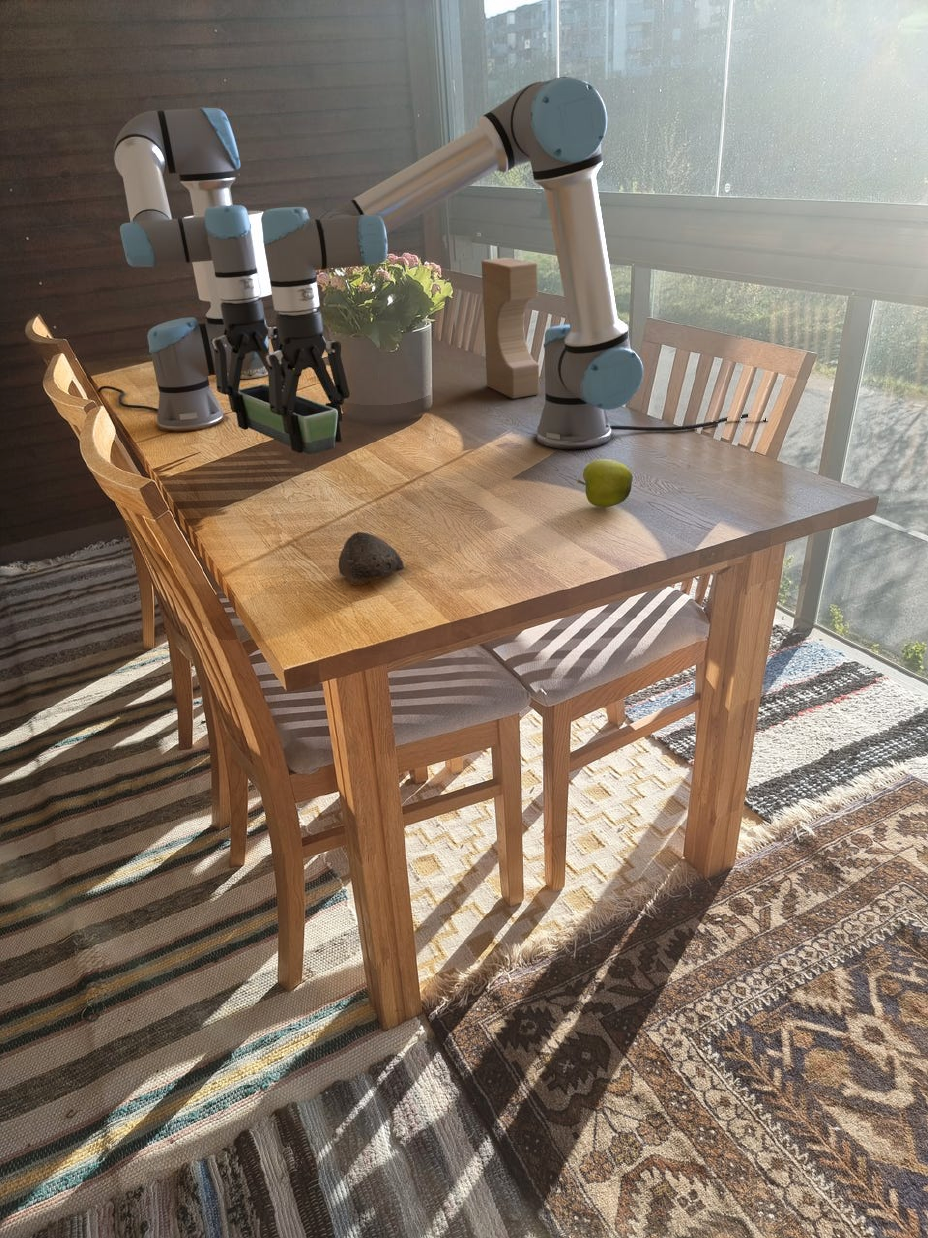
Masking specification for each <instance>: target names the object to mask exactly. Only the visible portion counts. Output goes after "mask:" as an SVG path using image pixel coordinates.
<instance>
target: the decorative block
mask: <svg viewBox="0 0 928 1238" xmlns="http://www.w3.org/2000/svg"><path fill="white" fill-rule="evenodd" d="M481 280H482V281H481V282H482V302H483V304H482V305H483V325H484V343H485V344H484V347H485V348H484V349H485V371H486V385H487V387H488V388H491V389H493V390H494V391H497V392H498V393H500V394H502V395H505V396H506V397H508V398H511V399H519V398H524V397H531V396H536V395H539V394H540V364H539V363H538V362H537V361H535V359H534V358H533V357H532V355H531V353H530V351H529V348H528V345H527V341H526V335H525V314H526V309H527V306H528V303H529V302H530V301H531V300H532V299H537V298H538V296H539V292H538V290H539V289H538V285H539V284H538V283H539V282H538V264H537V263H536V262H531V261H526V260H521V259H516V258H512V257H507V256H506V257H499V258H490V259H483V260H481Z"/></svg>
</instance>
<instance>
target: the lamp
mask: <svg viewBox="0 0 928 1238" xmlns="http://www.w3.org/2000/svg"><path fill="white" fill-rule="evenodd" d="M247 212H248V217H249V221H250V224H251V235H252V241H253V248H254V255H255V262H256V268H257V272H258V278H259V285H260V291H261V295H260V296H259V297H258V298H259V299H260V298H264V297H268V296H270V295H271V296H272V292H271V285H270V279H269V273H268V267H267V261H266V255H265V249H264V243H263V233H262V223H261V216H262V214H263V212H264V211H263V210H247ZM193 217H194V214H193V215H188V216H184V217H183V218H193ZM191 264H192V269H193V275H194V279H195V284H196V290H197V294H198V299H199V300H200V301H203V302H210V297H209V292H208V287H207V281H206V276H205V270H204V265H203V261H202V262H191ZM265 322H266V323H267V321H266V320H265ZM267 341H268V350H269V354H271V353H272V352H271V346H270V341H269V336H268V334H267ZM227 374H228V375H229V373H227ZM265 376H268V372H267V370H266V368H265V366H264V367H263V368H261V369H255V370H250V371H249V372H246V371H242V372H241V378H240V380H248V379H249V380H250V379H251V380H252V379H257V378H262V377H265Z"/></svg>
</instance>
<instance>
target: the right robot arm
mask: <svg viewBox="0 0 928 1238" xmlns="http://www.w3.org/2000/svg"><path fill="white" fill-rule="evenodd" d="M607 129H608V113H607V108H606V104H605V102H604V100H603V98H602V96H601V95H600V93H599V92H598V90H597V89H596V88H595V87H594V86H593V85H591V84H590V83H589V82H587V81H586V80H583V79H581V78H577V77H570V76H559V77H554V78H552V79H549V80H544V81H537V82H533V83H530V84H528V85H526V86H524V87H523V88H521V89H520V90H518V91H517V92H515V93H514V94H513V95H511V96H510V97H509V98H508V99H506V100H505V101H503V102H502V103H500V104H499V105H498V106H496V107H495V108H493V109H491V110H490V111H488V112H486V113H485V114H483V115H481V116H480V117H479V119H478V121H477V125H476V127H474V128H472V129H471V130H469V131H467V132H465V133H464V134H462V135H460V136H458V137H457V138H455V139H454V140H452V141H450V142H448V143H447V144H445V145H443V146H441V147H439V148H438V149H436V150H435V151H433V152H431V153H429V154H428V155H426V156H424V157H422V158H421V159H419V160H417V161H416V162H414V163H412V164H411V165H409V166H407V167H405V168H404V169H402V170H401V171H399V172H397V173H396V174H393V175H391V176H390V177H388V178H387V179H384V180H383V181H381V182H380V183H378V184H376V185H374V186H372V187H371V188H369V189H368V190H366V191H364V192H363V193H361V194H359V195H357V196H356V197H354V198H353V199H351V200H350V201H347V202H345V203H344V204H342V205H341V206H339V207H336V208H335V209H329V210H327V211H325V212H323V213H322V214H321V215H320V216H319V217H317V218H316V219H315V218H311V217H310V216H309V212H308V211H309V210H308V209H307V208H306V207H304V206H291V207H290V206H287V207H284V206H283V207H275V208H270V209H269V208H268V209H266V210H265V211H263V214H262V216H261V223H262V233H263V243H264V249H265V255H266V261H267V267H268V273H269V279H270V285H271V292H272V294H271V299H272V305H273V310H274V311H275V312H277V313H276V314H275V324H276V327H277V332H278V336H279V340H280V345H279V349H278V350H277V351H275V352H274V351H273V352H270V353H271V354H269V353H266V354H265V355H264V359H265V362H266V364H267V367H268V375H267V378H268V380H267V381H268V385H269V401H270V411H271V412H272V413H275V414H277V415H281V416H282V419H283V425H284V431H285V433H287V434H289V436H290V442H291V446H290V447H291V451H294V452H295V453H298V454H301V453H304V452H303V448H302V441H301V435H300V428H299V422H298V415H295V414H293V410H294V404H295V399H296V395H297V391H298V387H299V381H300V377H302V373H303V371H305V370H308V369H310V368H311V369H312V370H313V372H314V374H315V375H316V377H317V380H318V382H319V384H320V386H321V387H322V390H323V392H324V394H325V396H326V397H327V399H328V401H329V402H325V403H324V405H326V406H329V407H332V408H334V409H336V410H337V411H338V415H337V427H336V436H335V443H342V434H341V433H342V432H341V426H340V422H342V421H343V413H342V405H343V404H344V403H345V399H349V398H350V395H351V394H350V389H349V385H348V381H347V376H346V373H345V367H344V364H343V359H342V357H341V355H342V343H341V342H340V341H337V340H333V339H329V340H326V339H325V336H324V325H323V318H322V312H321V311H320V310H319V307H320V306H321V305H320V296H319V289H318V280H317V271H323V270H328V269H329V270H330V269H340V268H341V269H342V268H355V267H365V268H368V267H369V266H373V265H374V266H375V265H379V264H380V265H381V264H383V263H384V262H385V261H386V260H387V257H388V251H389V250H388V237H387V235H388V234H389V233H390V232H392V231H394V230H396V229H397V228H399V227H401V226H403V225H404V224H406V223H408V222H410V221H411V220H413V219H415V218H416V217H418V216H420V215H422V214H423V213H426V212H427V211H428V210H430V209H432V208H434V207H435V206H437V205H439V204H440V203H442V202H444V201H446V200H448V199H449V198H451V197H453V196H454V195H456V194H459V193H460V192H461V191H463V190H465V189H467V188H468V187H470V186H472V185H473V184H475V183H477V182H479V181H480V180H482V179H484V178H486V177H487V176H489V175H491V174H492V173H494V172H500V173H504V174H505V173H506V172H509V171H511V170H512V169H514V168H515V167H517V166H520V165H522V164H525V163H530V167H531V171H532V176H533V181H534V182H535V183H536V184H537V185H538V186H540V187H542V188H543V189H544V192H545V197H546V203H547V208H548V213H549V214H548V215H549V218H550V224H551V231H552V235H553V242H554V247H555V252H556V257H557V263H558V268H559V274H560V278H561V285H562V290H563V296H564V302H565V307H566V312H567V317H568V323H567V324H560V325H553V326H550V327H548V328H547V329H546V330H545V332H544V343H543V349H544V391H545V392H544V395H545V396H544V397H545V399H544V400H545V401H544V407H543V408H542V409H543V410H542V412H541V415H540V420H539V424H538V425H537V429H536V439H537V442H538V443H540V445H543V446H546V447H548V448H554V449H560V450H581V449H589V448H590V449H591V448H594V447H598V446H601V445H604V444H606V443H607V442H609V441H610V440H611V436H612V435H611V434H612V431H613V430H617V431H620V430H621V431H642V432H643V431H644V432H674V431H675V432H677V431H686V430H687V431H688V430H694V429H700V428H706V427H711V426H715V425H719V424H721V423H724V422H728V421H727V418H728V417H729V416H726V417H725V416H724V417H722V418H721V417H720V418H718V419H719V420H718V419H715V420H716V421H717V420H718V422H716V421H714V420H712V421H713V422H711V421H707V422H701V423H695V424H689V425H679V427H678V426H640V425H639V426H638V425H637V426H636V425H611V424H610V421H609V418H608V414H607V412H606V411H607V410H608V411H609V410H610V411H611V410H616V409H619V408H621V407H623V406H625V405H626V404H628V403H629V402H630V401H631V400H632V399H633V398H634V397H635V395H636V394H637V392H638V391H639V390H640V388H641V385H642V383H643V379H644V365H643V362H642V360H641V358H640V357H639V355H638V353H636V352H635V350H633V349H632V348H631V342H630V336H629V335H630V334H629V329H628V325H627V324H626V323H625V322H624V321H622V320H621V319H619V318H618V314H617V307H616V301H615V295H614V288H613V281H612V274H611V269H610V261H609V256H608V250H607V248H608V247H607V243H606V242H607V241H606V235H605V229H604V223H603V217H602V209H601V205H600V204H601V203H600V198H599V191H598V183H597V174H598V172H599V170H600V168H601V167H602V166H603V164H604V161H603V155H602V146H601V145H602V143H603V141H604V138H605V136H606V133H607ZM325 352H326V353H327V359H328V364H329V367H330V372H331V376H332V377H331V376H330V373H329V371H328V369H327V364H326V363H325V360H324V358H323V355H324V353H325ZM282 357H283V358H284V359H285V360H286V368H285V372H286V377H285V383H284V389H283V395H282V374H281V367H280V365H281V364H282V361H281V359H282ZM748 414H749V413H743V414H741V415H742V417H741V419H746V418H747V419H748V418H749V417H748ZM766 418H767V417H766ZM766 418H765V421H766ZM741 419H740V420H741ZM765 421H764V422H765Z"/></svg>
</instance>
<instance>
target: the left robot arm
mask: <svg viewBox="0 0 928 1238" xmlns="http://www.w3.org/2000/svg"><path fill="white" fill-rule="evenodd" d="M113 159H114V165H115V168H116V170H117V172H118V174H119V175H120V176H121V177H122V180H123V186H124V193H125V197H126V204H127V210H128V215H129V216H128V217H129V221H130V222H124V223H123V224H121V225H120V227H119V232H120V237H121V243H122V247H123V250H124V255H125V259H126V263H127V264H128V265H129V266H131V267H133V268H147V267H148V268H154V267H160V266H161V267H162V266H167V265H168V266H170V265H179V264H189V263H191V264H192V262H202V261H203V265H204V270H205V276H206V281H207V287H208V292H209V297H210V301H209V302H210V308H209V309H208V311H207V312H206V314H205V317H206V322H204V323H199V320H197V318H196V317H193V316H192V317H191V316H190V317H180V318H177V319H176V318H175V319H173V320H168V321H165V322H163V323H160V324H157V325H155V326H153V327H151V328H150V329H149V330H148V332H147V338H146V339H147V343H148V348H149V349H148V353H149V354H150V357H151V361H152V366H153V370H154V375H155V379H156V384H157V388H158V395H159V396H158V405H157V408H156V407H153V406H148V405H140V404H127V403H124V402H123V400H122V398H123V397H124V396H125V391H124V390H123V389H120V388H119V387H118V388H117V387H115V386H111V385H103V386H100V387H98V389H97V393H101V392H102V390H106V389H107V390H112V391H115V392H118V393H120V394H119V396H118V403H119V406H122V407H124V408H128V409H142V410H147V411H148V410H149V411H153V412H157V416H156V419H157V425H158V428H159V429H160V430H161V431H165V432H174V433H176V432H177V433H179V432H181V433H182V432H191V431H192V432H193V431H199V430H203V429H207V428H211V427H213V426H216V425H219V424H221V423H222V422H223V421H224V420H225V417H224V412H223V409H222V407H221V405H220V403H219V401H218V399H217V397H216V395H215V394H214V392H213V390H212V388H211V385H210V380H209V376H210V377H211V376H215V381H216V391H217V392H218V393H220V394H222V395H227V396H228V402H229V407H230V411H231V412H233V413H235V415H236V421H237V426H238V428H240V429H242V430H245V431H246V430H249V428H248V423H247V418H246V412H245V407H244V401H243V395H241V394H238V390H239V389H240V383H241V379H240V378H241V372H242V371H246V372H249V371H250V370H255V369H261V368H263V367H264V366H265V368H266V370H267V372H268V367H267V364H266V362H265V359H264V355H265V354H266V353H269V350H268V341H267V334H268V339H270V343H271V348H272V351H273V352H275V351H277V350H278V349H279V345H280V340H279V336H278V332H277V326H271V327H270V326H268V325H267V321H266V317H265V311H264V304H263V300H262V299H261V298H260V297H259V296H260V295H261V291H260V285H259V278H258V272H257V268H256V262H255V255H254V248H253V241H252V235H251V224H250V221H249V217H248V212H247V211H248V210H247V208H246V207H245V206H244V205H241V204H233V197H232V193H231V192H232V191H231V186H232V185H233V183H234V182H235V180H236V173H235V171H237V170H239V169H240V168H241V160H240V155H239V151H238V146H237V143H236V139H235V135H234V133H233V129H232V126H231V123H230V121H229V119H228V116H227V114H226V113H225V111H223V110H222V109H220V108H218V107H202V106H201V107H196V108H180V109H179V108H178V109H177V108H176V109H165V110H164V109H163V110H147V111H144V112H142V113H140V114H138V115H136V116H134V117H133V118H131V119H130V120H129V121H128V122H127V123H126V124H125V125H124V126H123V127H122V128H121V130H120V132H119V133H118V135H117V136H116V139H115V142H114V146H113ZM164 174H165V175H166V174H169V175H172V174H178V176H179V182H180V184H181V185H182V186H184V187H185V188H186V189H187V190H188V192H189V196H190V201H191V205H192V212H193V215H194V217H193V218H184V217H182V218H173V217H172V213H171V209H170V204H169V199H168V194H167V190H166V185H165V181H164V177H163V175H164ZM258 297H259V298H258ZM265 321H266V322H265ZM281 361H282V364H281V365H280V367H281V374H282V390H283V389H284V383H285V377H286V372H285V368H286V360H285V359H284V358H283V357H282V359H281ZM228 373H229V374H228Z"/></svg>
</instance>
